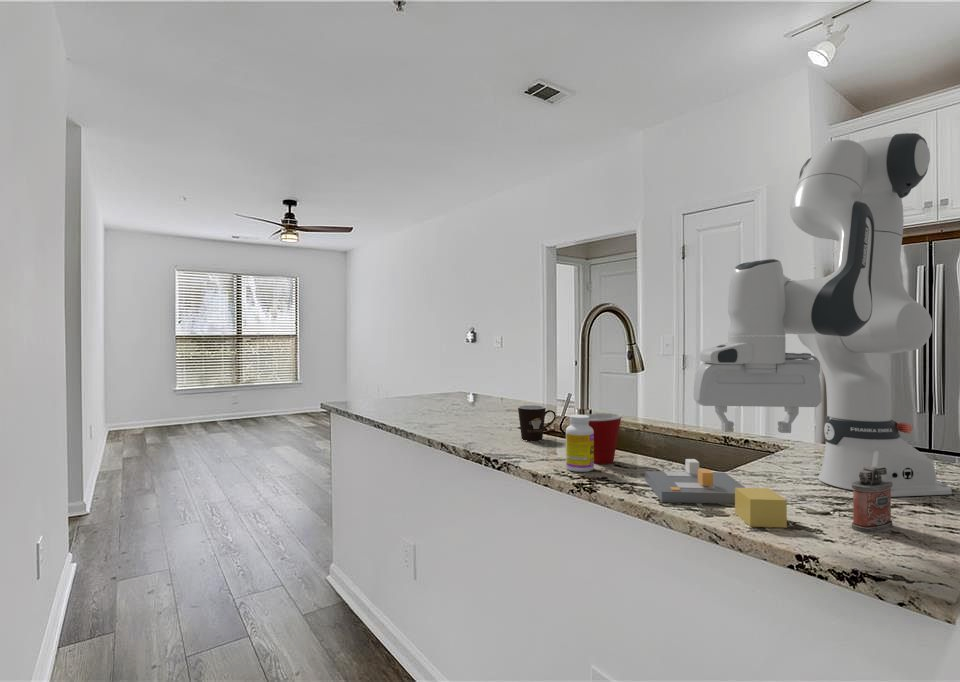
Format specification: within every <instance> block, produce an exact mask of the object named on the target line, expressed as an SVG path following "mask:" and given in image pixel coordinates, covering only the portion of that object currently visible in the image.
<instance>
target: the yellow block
mask: <svg viewBox="0 0 960 682" xmlns="http://www.w3.org/2000/svg"><path fill="white" fill-rule="evenodd" d="M787 502H788V501H787V499H785V498H784V497H783V496H781V495H780V494H778V493H777V492H775V491H773V490H772V489H771V488H768V487H767V488H764V487H745V488H735V504H734V514H736V515H737V516H738V518H740V519H741V520H742V521H743V520H744V522H745V523H746V524H747V525H748V526H749V527H754V528H757V527H761V528H784V529H785V528H788V523H787V521H788V520H787V519H788V517H787V515H788V513H787V512H788V511H787V510H788V509H787V508H788V507H787V506H788V505H787Z"/></svg>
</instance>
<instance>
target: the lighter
mask: <svg viewBox="0 0 960 682" xmlns="http://www.w3.org/2000/svg"><path fill="white" fill-rule="evenodd" d="M882 475H887V468H885V467H883V466H878V467H873V468H871V467H864V468H863V470H861V471H859V477H860V481H856V482H854V483H852V489H853V490H852V491H853V492H852V493H853V494H852V495H853V496H852V497H853V498H852V499H853V500H852V501H853V503H852V504H853V506H852V507H853V508H852V509H853V510H852V514H853V515H852V518H853V519H852V521H851V529H852V530H853V531H855V532H858V533H863V534H874V533H879V532H880V533H881V532H884V531H888V530H889V529H892V528H893V520H892V513H891V511H892V497H891V487H892V481H889V480H885V479H882V477H881V476H882Z"/></svg>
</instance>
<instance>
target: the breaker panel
mask: <svg viewBox="0 0 960 682" xmlns="http://www.w3.org/2000/svg"><path fill="white" fill-rule="evenodd" d="M711 472H712V471H711ZM712 473H713V486H702V485H701V484H700V483H699V482H698V474H689V473H688V472H687V471H675V470H674V471H671V470H670V471H665V470H663V471H660V470H659V471H653V470H652V471H651V470H650V471H649V470H645V471H644V480H645V482H646V483H647V485H648V486H649V487H650V488H651V490H652V491H653V493H654V494H655V495H656V497H657V498H658V499H659V500H660V501H661V503H683V504H684V503H687V504H688V503H689V504H724V505H725V504H727V505H728V504H730V505H731V504H732V505H733V504H734V505H735V488H746V486H744V485H743V484H741V483H740V482H738V481H737V480H735V479H734V478H733V477H731V476H730V475H729V474H727V473H726V472H712Z"/></svg>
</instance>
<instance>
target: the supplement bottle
mask: <svg viewBox="0 0 960 682" xmlns="http://www.w3.org/2000/svg"><path fill="white" fill-rule="evenodd" d="M587 415H588V414H571V415H570V416H569V423H570V424H569V425H568V426H567V427H566V429H565V468H566V469H567V470H569V471H571V472H575V473H588V472H592V471H593V470H594V469H595V463H594V430H593V428H592V427H590V426H589V421H590V417H589V416H587Z"/></svg>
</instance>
